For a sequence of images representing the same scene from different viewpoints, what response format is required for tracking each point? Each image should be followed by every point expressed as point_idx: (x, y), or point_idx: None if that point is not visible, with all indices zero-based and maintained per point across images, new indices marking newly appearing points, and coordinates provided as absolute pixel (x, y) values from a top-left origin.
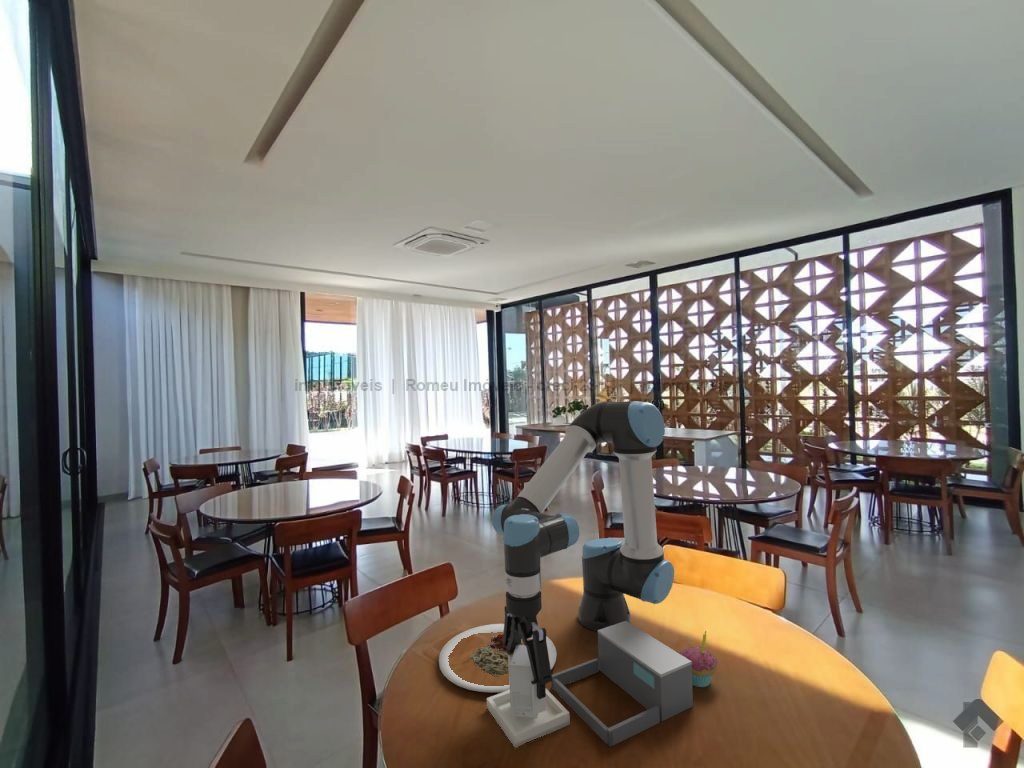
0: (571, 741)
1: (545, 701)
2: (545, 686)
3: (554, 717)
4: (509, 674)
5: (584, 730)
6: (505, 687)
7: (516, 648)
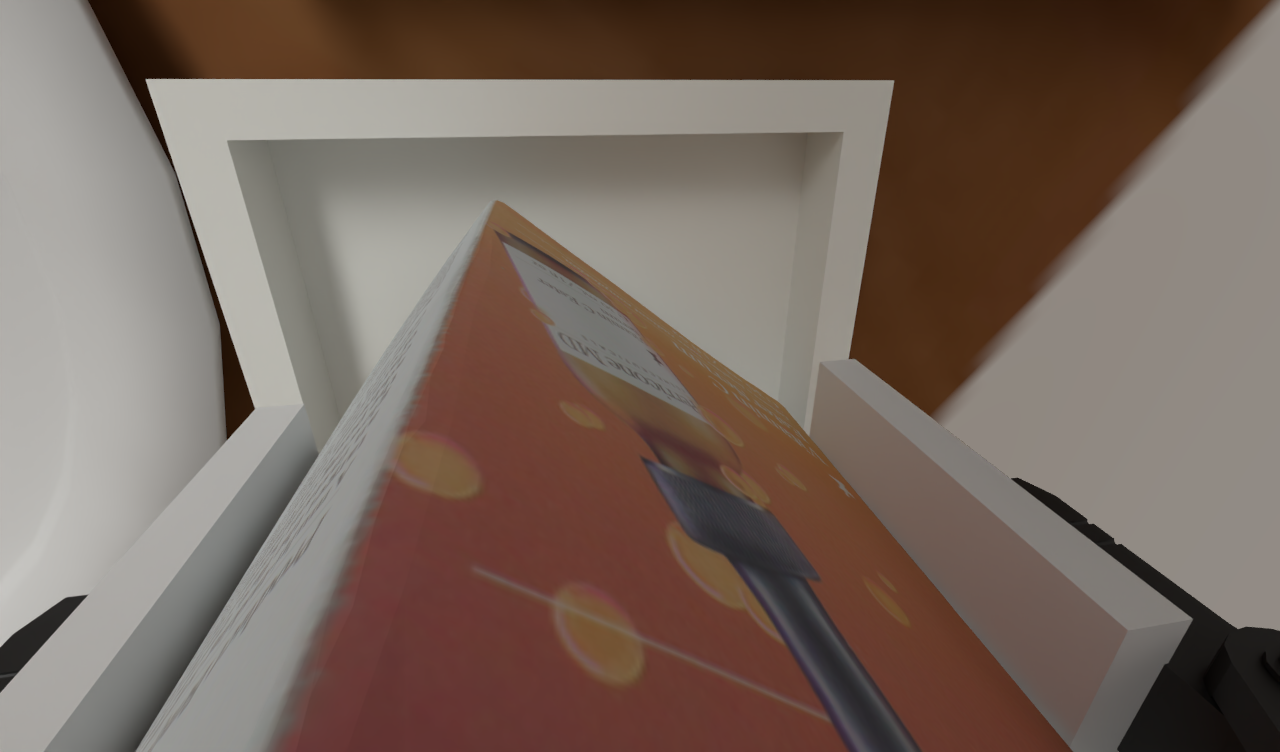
0: (962, 187)
1: (908, 403)
2: (1171, 581)
3: (849, 257)
4: None
5: (960, 5)
6: (144, 429)
7: None
